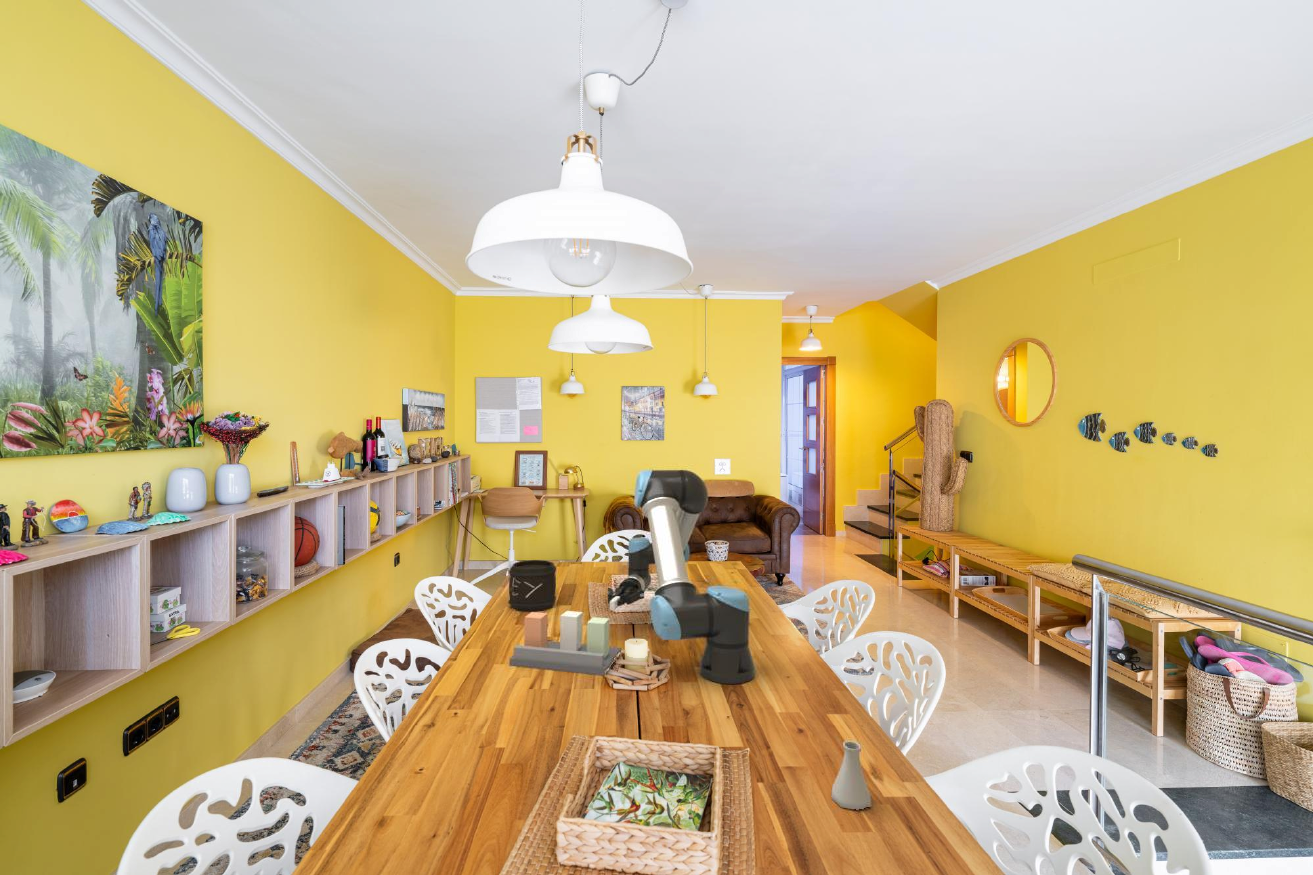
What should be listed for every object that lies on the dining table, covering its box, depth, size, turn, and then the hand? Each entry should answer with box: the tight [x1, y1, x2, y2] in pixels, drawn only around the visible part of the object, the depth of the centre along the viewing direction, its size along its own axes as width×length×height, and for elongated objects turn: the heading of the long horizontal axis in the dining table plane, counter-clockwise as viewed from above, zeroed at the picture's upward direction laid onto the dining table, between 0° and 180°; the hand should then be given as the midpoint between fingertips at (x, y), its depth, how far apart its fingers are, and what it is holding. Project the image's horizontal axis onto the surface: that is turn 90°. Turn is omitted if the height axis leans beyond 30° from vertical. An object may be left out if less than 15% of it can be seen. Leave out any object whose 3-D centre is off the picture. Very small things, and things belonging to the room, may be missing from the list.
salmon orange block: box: [523, 611, 549, 648], centre depth 177 cm, size 5×5×10 cm
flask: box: [831, 740, 872, 811], centre depth 111 cm, size 7×7×10 cm
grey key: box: [559, 610, 584, 651], centre depth 179 cm, size 5×5×10 cm
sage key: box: [586, 616, 610, 659], centre depth 173 cm, size 5×5×10 cm
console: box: [509, 640, 622, 676], centre depth 176 cm, size 28×16×5 cm, turn 77°
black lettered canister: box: [508, 559, 557, 613], centre depth 228 cm, size 18×18×16 cm
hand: (612, 605), depth 187 cm, fingers closed
